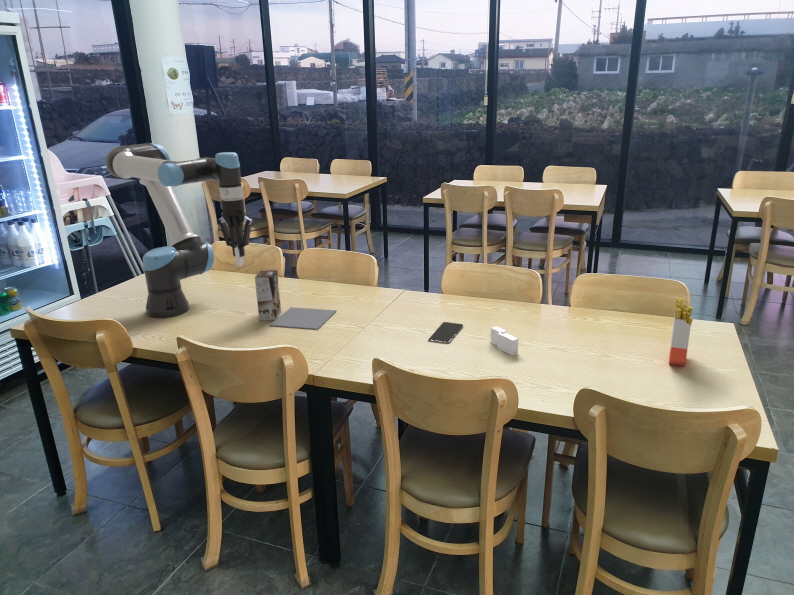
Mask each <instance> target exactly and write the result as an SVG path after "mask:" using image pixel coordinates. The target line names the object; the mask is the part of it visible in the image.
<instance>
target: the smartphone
mask: <svg viewBox="0 0 794 595" xmlns="http://www.w3.org/2000/svg"><path fill="white" fill-rule="evenodd" d="M463 327H464V323H456V322H449V321H443V322H442V323H441V324H440V325H439V326H438V328H436V330H435V331H434V332H433V333H432V334H431V336H430V337H428V340H427V342H428V343H429V342H431V343H439V344H445V345H449V344H451V342H452V341H453V340H454V339H455V337H456V336H457V335H458V334H459V332H461V329H462V328H463Z"/></svg>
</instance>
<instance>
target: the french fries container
mask: <svg viewBox="0 0 794 595" xmlns="http://www.w3.org/2000/svg"><path fill="white" fill-rule="evenodd" d="M682 303H683V299H682V297H676V302H675V310H674V316H673V324H672V331H671V332H672V333H671V338H670V339H671V340H670V347H669V348H670V349H669V356H668V357H669V358H668V364H669V365H672V366H673V365H674V366H679V367H685V365H686V362H687V356H688V348H689V340H690V333H691V328H692V323H693V320H694V318H692V317H691V316H692V312H693V306H688V307H687V304H683V306H682Z"/></svg>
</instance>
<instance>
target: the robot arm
mask: <svg viewBox="0 0 794 595" xmlns="http://www.w3.org/2000/svg"><path fill="white" fill-rule="evenodd" d="M105 167H106V170H107V172H109V173H110V175H112V176H114V177H116V178H119V179H126V180H128V179H131V178H136V179H137V180H138V182H139V183H140V185H143V186H145V187H146V189H147V191H148V194H149V196H150V197H151V200H152V202H153V205H154V206H155V208H156V211H157V212H158V215H159V217H160V219H161V222H162V224H163V226H164V228H165V230H166V232H167V234H168V236H169V239H170V240H171V245H167V246H162V247H159V246H158V247H155V248H153V249H150V250H148V251H146V252H145V253H144V254H143V256H142V263H143V264H142V267H143V270H144V275H145V282H146V287H147V292H148V293H147V294H148V295H147V300H146V304H145V312H146V315H147V316H148V315H149V317H150V316H152V317H151V318H157V317H162V318H171V317H175V316H180V315H182V314H184V313H186V312H187V311H189V310H190V304H189V301H188V299H187V298H186V295H185V292H184V290H183V289H182V285H181V280H184V279H187V278H191V277H194V276H198V275H202V274H204V273H207V272H209V271H210V270H211V269H212V268H213V266H214V263H215V252H214V250H213V247H212V245H211V244H210V243H209V242H208V241H204V240H203V241H202V238H201V236H200V235H199V234H195V233H194V231H193V228H192V227H191V224H190V223H189V221H188V218H187V216H186V214H185V212H184V210H183V208H182V205H181V204H180V202H179V199H178V197H177V195H176V193H175V190H174V189H173V187H178V186H183V185H187V184H195V183H200V182H208V181H218V187H219V194H220V195H219V196H220V199H221V201H220V204H221V210H222V215H221V217H220V218H217V219H216V223H217V224H218V225H219V228H220V230H221V232H222V237H223V238H224V242H225V244H226V246H227V247H230V248H231V250H232V255H233V257H234V258H235V263H236V264H235V265H236V267H242V266H243V265H245V261H244V257H245V255H246V252H245V247H246V246H248V245H249V244H250V235H251V227H252V224H253V222H254V219H253V218H251V217H250V218H249V217H248V216H247V214H246V212H245V200H244V199H243V197H244V194H243V193H244V192H243V184H242V175H241V163H240V160H239V155H238V154H237V153H236V152H234V151H233V152H232V151H230V152H229V151H228V152H227V151H226V152H225V151H224V152H218V153H216V154H215V156H214V157H207V156H205V157H198V158H196V159H189V160H183V161H182V160H181V161H176V160H175V161H173V160H171V158H170V155H169V152H167V150H166V149H165V148H164V146H162V145H161V144H159V143H155V142H145V143H140V144H130V145H129V144H128V145H120V146H119V145H118V146H116V147H114V148H112V149H110V151H108V153H107V154H106V157H105ZM243 224H244V225H243ZM181 313H182V314H181ZM170 316H171V317H170Z"/></svg>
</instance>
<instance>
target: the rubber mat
mask: <svg viewBox="0 0 794 595" xmlns="http://www.w3.org/2000/svg"><path fill="white" fill-rule="evenodd" d="M336 313H337V309H336V310H335V309H324V308H323V309H322V308H320V309H319V308H308V307H307V308H306V307H292V306H291V307H289V308H288V309H287V310H286V311H284V312H283V313H282V314H281V315H279V316H278V318H277V319H276V320H273V322H272V321H271V323H270V324H269V327H276V326H279V327H280V328H289V327H292V328H293V329H302V328H304V330H306V329H307V330H315V329H318V330H319V329H321V327H323V325H325V323H326V322H327V321H329V320H330V319H331V317H333V315H335V314H336ZM292 328H291V329H292Z"/></svg>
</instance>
